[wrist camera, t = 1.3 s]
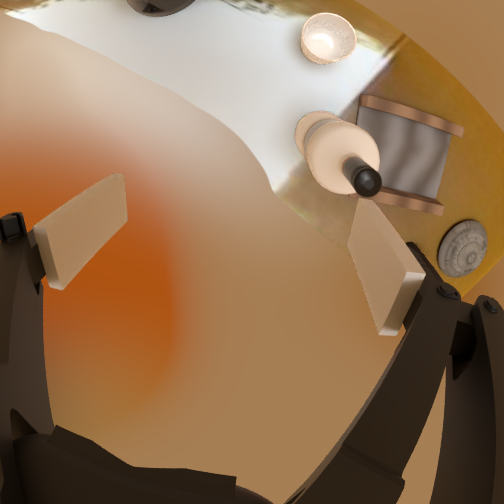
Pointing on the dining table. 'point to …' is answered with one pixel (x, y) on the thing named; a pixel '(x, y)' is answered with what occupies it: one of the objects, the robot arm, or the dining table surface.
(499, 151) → the dining table surface
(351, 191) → the vodka
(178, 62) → the dining table surface
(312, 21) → the white cup
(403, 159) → the u rest
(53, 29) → the dining table surface
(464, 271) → the flying saucer
